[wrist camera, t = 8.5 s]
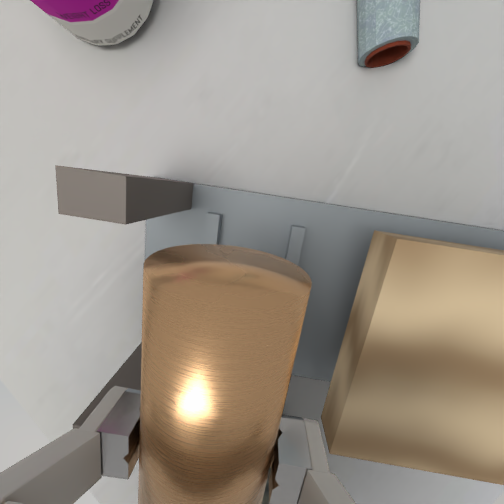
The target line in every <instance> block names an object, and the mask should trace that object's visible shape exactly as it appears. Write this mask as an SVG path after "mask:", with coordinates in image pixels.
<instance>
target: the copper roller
mask: <svg viewBox="0 0 504 504" xmlns="http://www.w3.org/2000/svg"><path fill="white" fill-rule="evenodd" d="M311 286H312V281H311V278H310V277H309V275H308V274H307V273H306V272H305V271H304V270H303V269H302V268H300V267H299V266H297V265H296V264H294V263H292V262H290V261H288V260H286V259H284V258H281V257H279V256H276V255H273V254H270V253H266V252H263V251H259V250H254V249H250V248H244V247H238V246H230V245H219V244H190V245H180V246H174V247H169V248H165V249H162V250H159V251H157V252H155V253H153V254H151V255H150V256H149V257H148V258H147V259H146V260H145V262H144V271H143V315H142V358H141V402H140V446H139V489H138V504H262V500H263V496H264V491H265V487H266V483H267V478H268V474H269V469H270V465H271V461H272V456H273V452H274V448H275V443H276V439H277V435H278V430H279V426H280V421H281V417H282V413H283V408H284V404H285V400H286V395H287V391H288V386H289V382H290V378H291V373H292V369H293V365H294V360H295V356H296V351H297V347H298V343H299V338H300V334H301V330H302V325H303V321H304V316H305V312H306V308H307V303H308V299H309V295H310V290H311Z"/></svg>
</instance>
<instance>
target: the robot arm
mask: <svg viewBox="0 0 504 504" xmlns="http://www.w3.org/2000/svg"><path fill="white" fill-rule="evenodd" d="M140 402H141V391H140V390H135V389H130V388H124V387H119V386H114V387H113V388H111V389H110V390H109V391H108V393H107V394H106V395H105V396H104V398H103V399H102V400H101V402H100V403H99V404H98V405H97V407H96V408H95V409H94V410H93V412H92V413H91V414H90V415H89V417H88V418H87V419H86V421H85V422H84V423H83V424H82V426H81V427H80V428H79V429H76V428H74V429H72V430H71V431H69V432H67V433H66V434H64V435H62V436H61V437H59V438H57V439H56V440H54V441H52V442H51V443H49V444H47V445H46V446H44V447H42V448H41V449H39V450H38V451H36V452H34V453H33V454H31V455H29V456H28V457H26V458H24V459H23V460H21V461H19V462H18V463H16V464H14V465H13V466H11V467H9V468H8V469H6V470H4V471H3V472H1V473H0V504H73V503H74V502H76V500H78V499H79V498H80V497H81V496H82V495H83V494H84V493H85V492H86V491H88V490H89V489H90V488H91V487H92V486H93V485H94V484H95V483H96V482H97V481H98V480H99V479H101V476H108V477H115V478H122V479H129V477H130V475H131V473H132V471H133V469H134V466H135V464H136V462H137V460H138V458H139V446H140ZM270 467H271V471H270V475H269V504H356V503H355V502H354V500H353V499H352V497H351V496H350V495H349V493H348V492H347V491H346V489H345V488H344V486H343V485H342V484H341V482H340V481H339V479H338V478H337V477H336V475H335V474H332V473H330V471H329V466H328V462H327V457H326V453H325V449H324V444H323V440H322V435H321V431H320V427H319V423H318V421H317V420H311V419H305V418H300V417H294V416H288V415H282V417H281V421H280V426H279V430H278V435H277V439H276V443H275V448H274V452H273V456H272V461H271V465H270Z"/></svg>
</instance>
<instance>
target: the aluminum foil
mask: <svg viewBox="0 0 504 504" xmlns="http://www.w3.org/2000/svg"><path fill="white" fill-rule="evenodd" d="M419 18H420V0H357V29H358V64H359V65H360V66H361V67H363V66H366V67H370V68H374V67H380V66H384V65H387V64H390V63H392V62H395V61H397V60H398V59H400V58H402V57H403V56H405V55H406V54H408V53H409V52H410V51H412V50H413V49H414V48H415V47H416V46H417V44H418V43H419Z"/></svg>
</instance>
